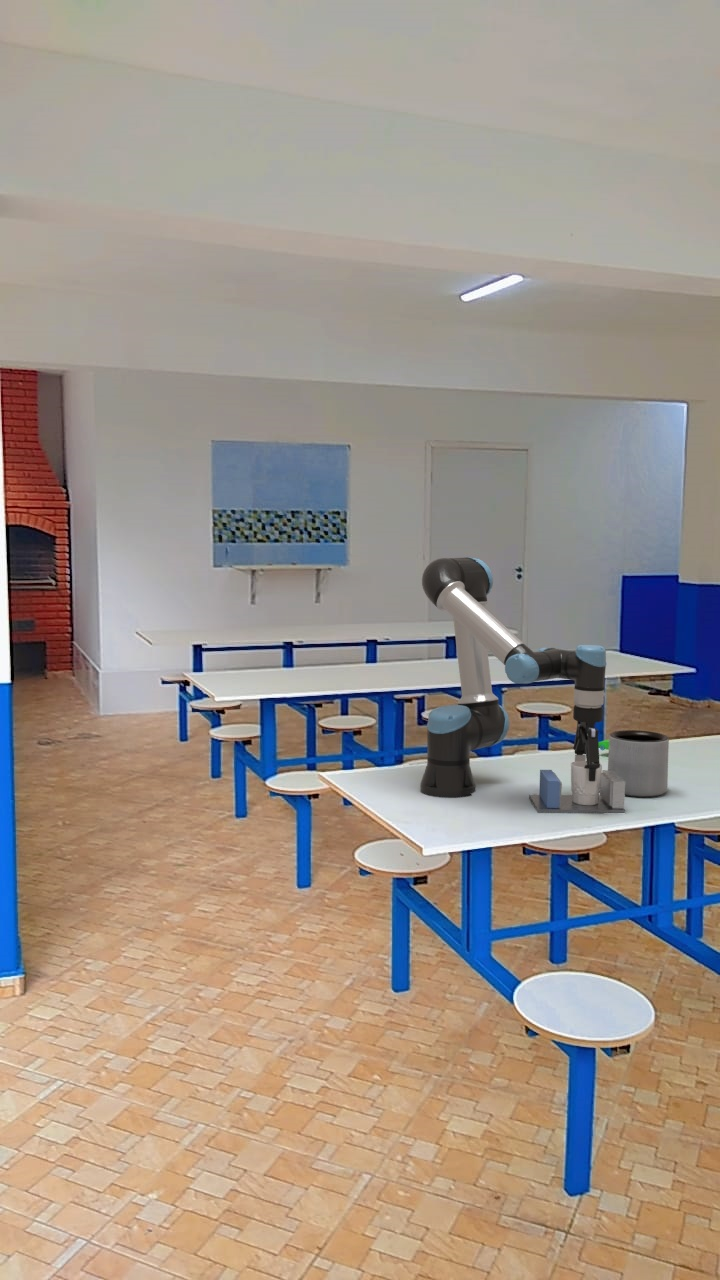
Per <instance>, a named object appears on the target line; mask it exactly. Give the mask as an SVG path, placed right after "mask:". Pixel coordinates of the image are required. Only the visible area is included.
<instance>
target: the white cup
mask: <svg viewBox="0 0 720 1280" xmlns="http://www.w3.org/2000/svg"><path fill="white" fill-rule="evenodd" d="M585 765H587V760H586V761H576V762H575V761H571V763H570V784H571V785H570V786H571V787H570V788H571V795H572V802H574V803H576V804H580V805H595V804H598V801H599V795H600V784H601V773H602V770H603V764H601V763H600V767H599V768H598V769H597V784H596V794H594V793H585V776H586V768H584V767H585Z"/></svg>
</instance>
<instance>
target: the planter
mask: <svg viewBox="0 0 720 1280" xmlns="http://www.w3.org/2000/svg"><path fill="white" fill-rule="evenodd" d="M608 740H609V750H608V759H607V760H608V761H607V770H614V771H615V772H616V773H617V774H618V775H619V776H620V777H621V778H622V779H623V780H624V781H625V797H626V796H627V797H634V798H652V797H653V798H655V797H660V796H662V795H663V794H665V793H666V792H667V790H668V784H669V781H668V780H669V778H668V777H669V749H670V748H669V747H670V746H669V744H670V742H669V741H670V737H669V736H668V735H665V734H664V733H659V732H656V731H655V732H654V731H649V730H640V729H639V730H637V729H635V730H633V729H631V730H630V729H628V730H625V729H623V731H622V730H616V731H613V732H610V733H609V736H608Z"/></svg>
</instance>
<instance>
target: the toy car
mask: <svg viewBox="0 0 720 1280" xmlns="http://www.w3.org/2000/svg"><path fill="white" fill-rule="evenodd" d="M623 730H624V729H623ZM623 730H621V731H623ZM598 745H599V751H605V750H608V751H609V739H605V740H602V741H598Z"/></svg>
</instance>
